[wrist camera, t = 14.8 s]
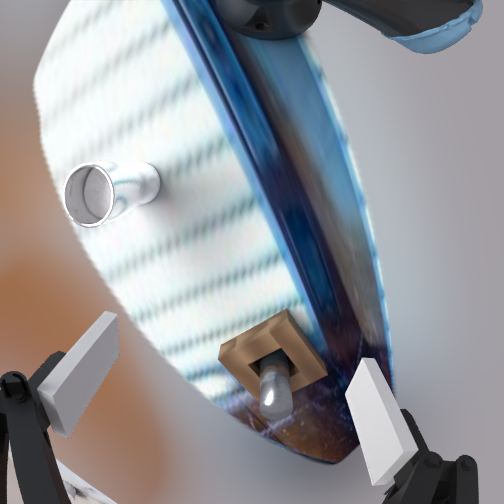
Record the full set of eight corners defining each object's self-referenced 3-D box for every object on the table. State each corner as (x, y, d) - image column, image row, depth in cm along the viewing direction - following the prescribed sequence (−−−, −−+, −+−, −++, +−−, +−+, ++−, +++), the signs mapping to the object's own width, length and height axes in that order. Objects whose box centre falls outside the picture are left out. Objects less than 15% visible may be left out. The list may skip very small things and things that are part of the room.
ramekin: (51, 473, 73) (46, 481, 67) (72, 483, 73) (68, 492, 68) (60, 485, 76) (56, 493, 71) (81, 494, 76) (77, 503, 71)
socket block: (286, 308, 45) (288, 321, 42) (323, 360, 48) (327, 374, 44) (220, 345, 48) (218, 359, 44) (262, 390, 50) (262, 405, 47)
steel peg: (277, 339, 47) (282, 393, 35) (291, 356, 48) (299, 411, 36) (255, 351, 48) (253, 406, 35) (269, 368, 49) (271, 423, 36)
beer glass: (172, 175, 40) (128, 183, 26) (148, 216, 42) (98, 243, 27) (135, 150, 39) (78, 148, 25) (112, 190, 41) (52, 207, 26)
